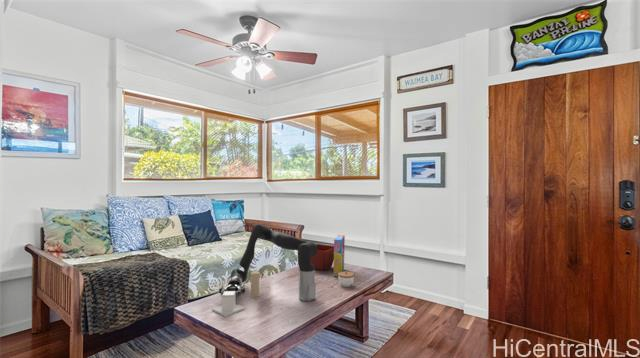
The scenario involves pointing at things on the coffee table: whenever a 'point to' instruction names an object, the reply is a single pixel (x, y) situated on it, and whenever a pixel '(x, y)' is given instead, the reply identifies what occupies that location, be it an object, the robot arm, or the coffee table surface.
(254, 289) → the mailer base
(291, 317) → the coffee table surface
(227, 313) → the grey mat
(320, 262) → the plant pot
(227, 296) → the white rectangular block
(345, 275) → the lidded jar
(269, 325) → the coffee table surface
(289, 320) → the coffee table surface
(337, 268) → the game box
